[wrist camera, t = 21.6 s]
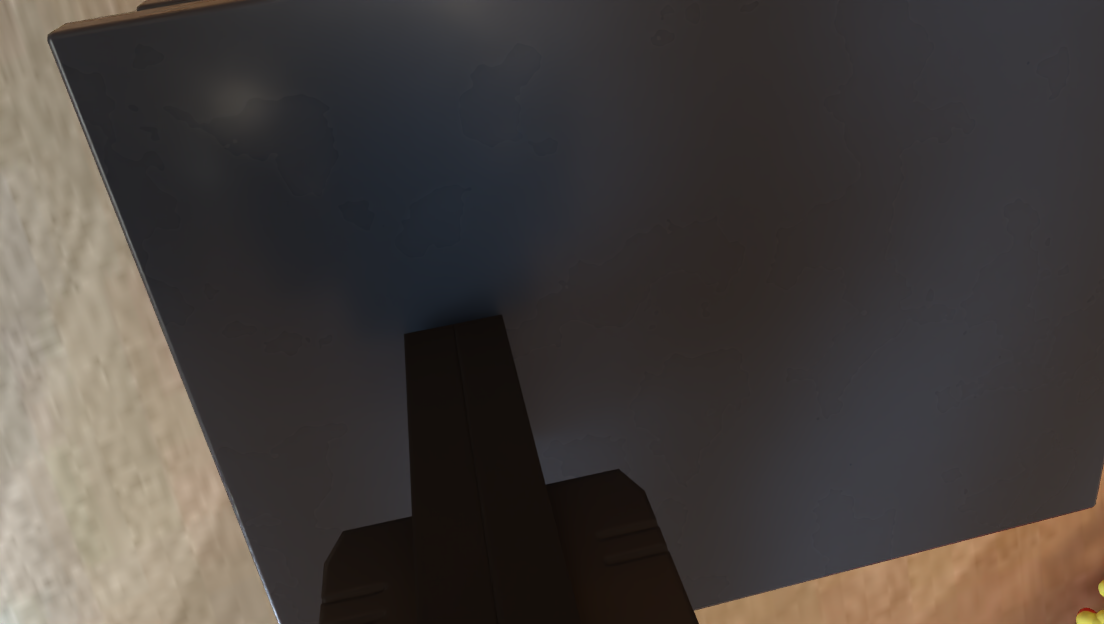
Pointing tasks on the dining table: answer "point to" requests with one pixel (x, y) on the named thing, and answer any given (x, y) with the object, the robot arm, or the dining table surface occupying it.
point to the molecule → (1091, 612)
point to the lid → (628, 256)
